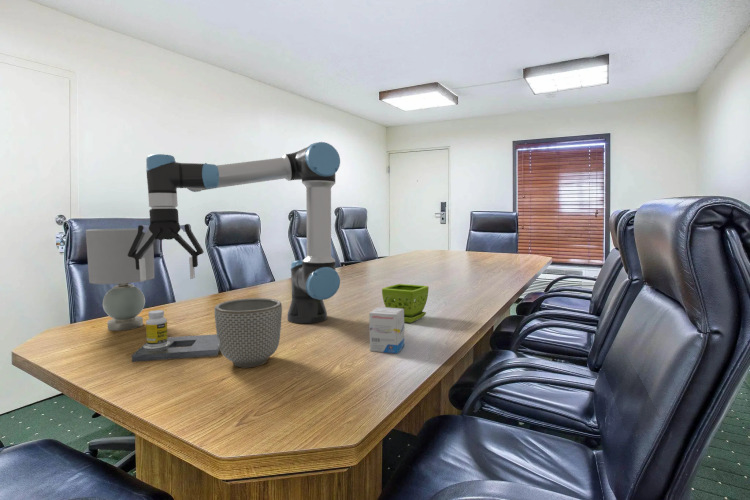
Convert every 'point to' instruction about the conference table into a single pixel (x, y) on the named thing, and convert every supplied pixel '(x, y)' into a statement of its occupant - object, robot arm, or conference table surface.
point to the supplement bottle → (156, 328)
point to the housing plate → (179, 348)
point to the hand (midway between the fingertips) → (168, 279)
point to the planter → (248, 330)
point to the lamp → (119, 274)
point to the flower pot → (406, 299)
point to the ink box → (386, 329)
